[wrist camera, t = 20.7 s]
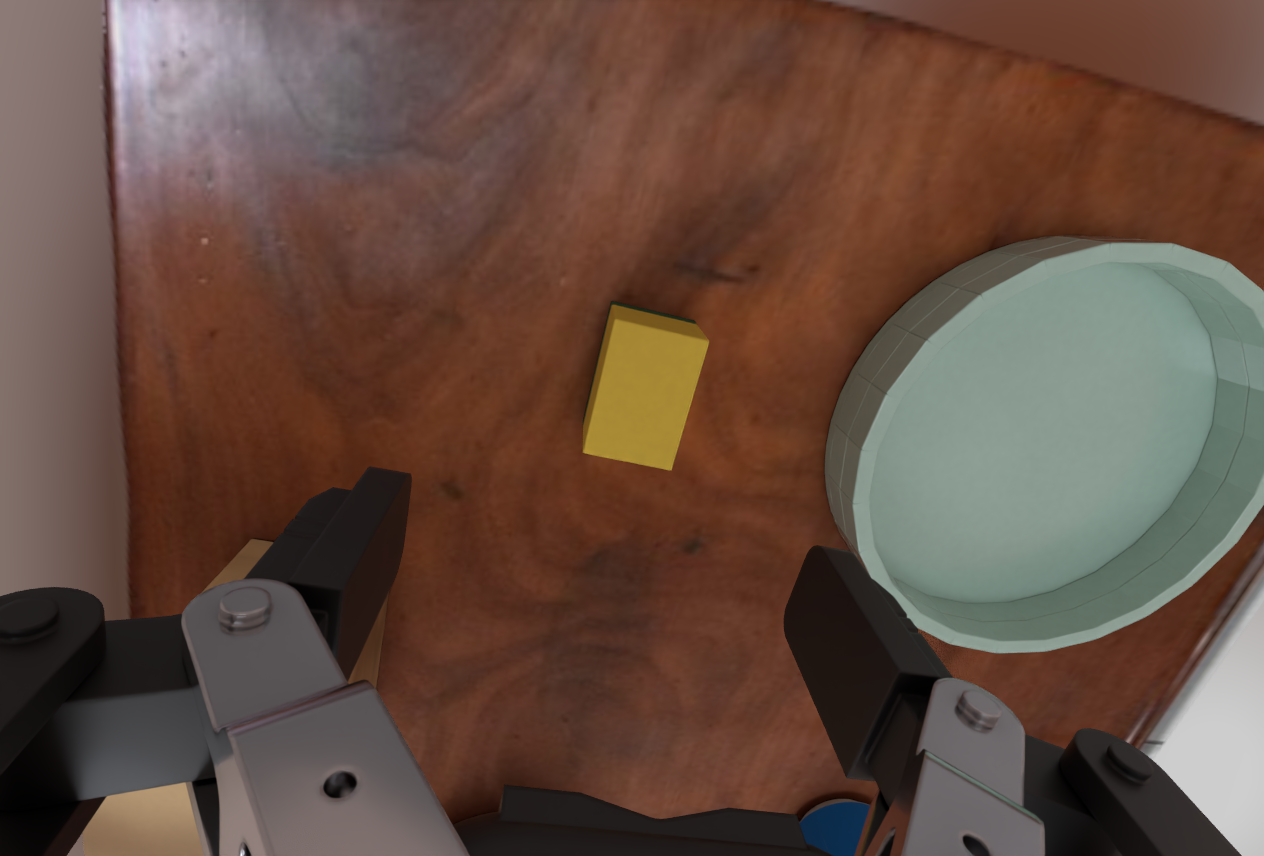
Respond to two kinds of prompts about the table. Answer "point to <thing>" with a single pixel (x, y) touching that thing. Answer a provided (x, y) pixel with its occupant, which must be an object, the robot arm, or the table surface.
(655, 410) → the sponge
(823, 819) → the beverage can
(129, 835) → the sponge stand
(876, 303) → the table surface
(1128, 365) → the bowl
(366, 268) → the table surface
